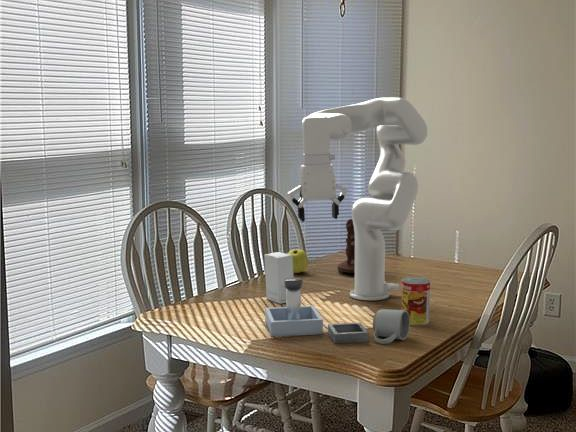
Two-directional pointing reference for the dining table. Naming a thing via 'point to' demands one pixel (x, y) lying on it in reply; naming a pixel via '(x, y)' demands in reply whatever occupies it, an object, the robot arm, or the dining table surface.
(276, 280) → the skincare box
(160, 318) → the dining table surface
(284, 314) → the bin
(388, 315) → the ceramic mug
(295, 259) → the apple
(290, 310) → the black capped silver cylinder
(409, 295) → the canned food
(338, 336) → the socket collar
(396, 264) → the dining table surface
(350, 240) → the brown carved statue
